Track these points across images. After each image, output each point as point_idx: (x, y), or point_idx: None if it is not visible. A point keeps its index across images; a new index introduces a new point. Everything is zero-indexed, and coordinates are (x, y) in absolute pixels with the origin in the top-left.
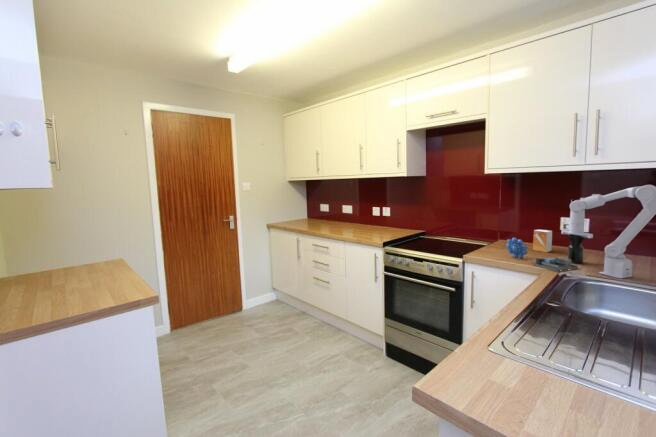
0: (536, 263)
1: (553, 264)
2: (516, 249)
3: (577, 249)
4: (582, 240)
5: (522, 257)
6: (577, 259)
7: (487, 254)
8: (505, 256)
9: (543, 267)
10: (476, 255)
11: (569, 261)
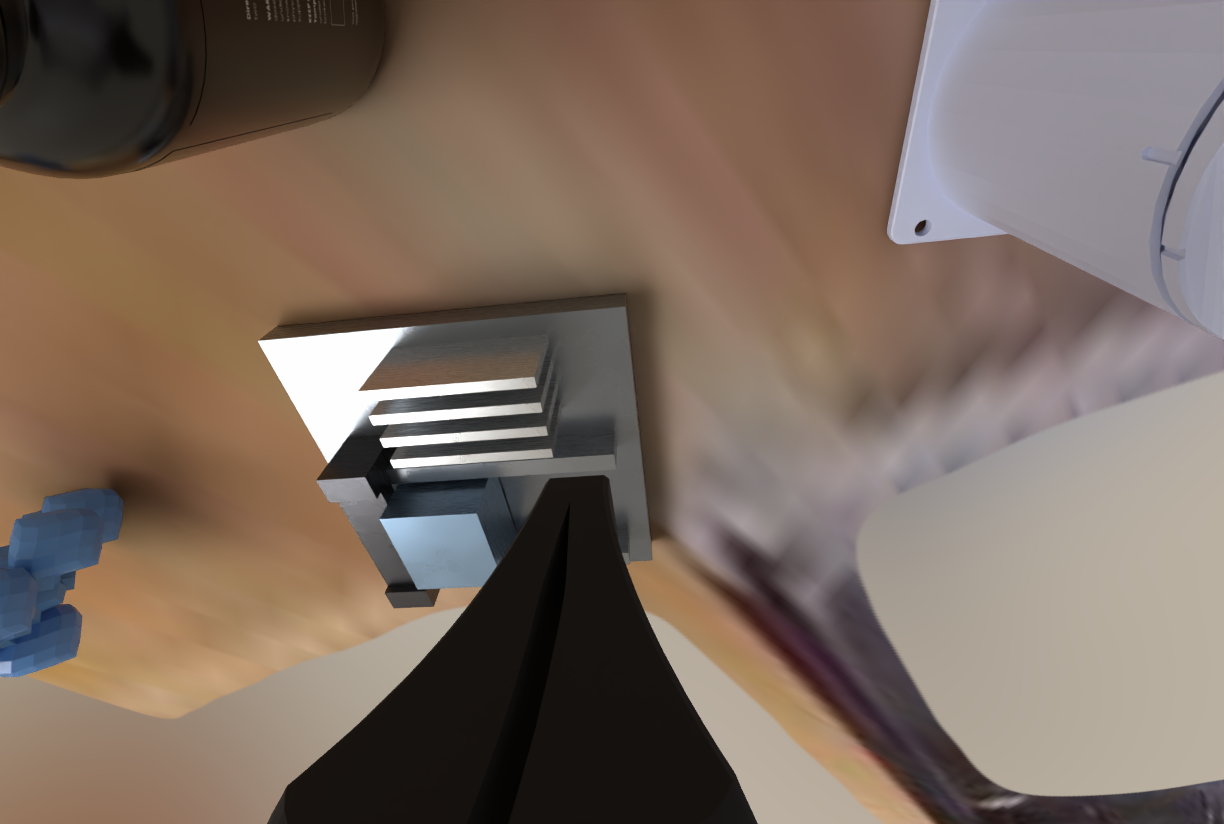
0: None
1: None
2: (72, 636)
3: (611, 502)
4: (680, 692)
5: (120, 498)
6: (350, 62)
7: None
8: None
9: None
10: (87, 678)
11: (545, 392)
